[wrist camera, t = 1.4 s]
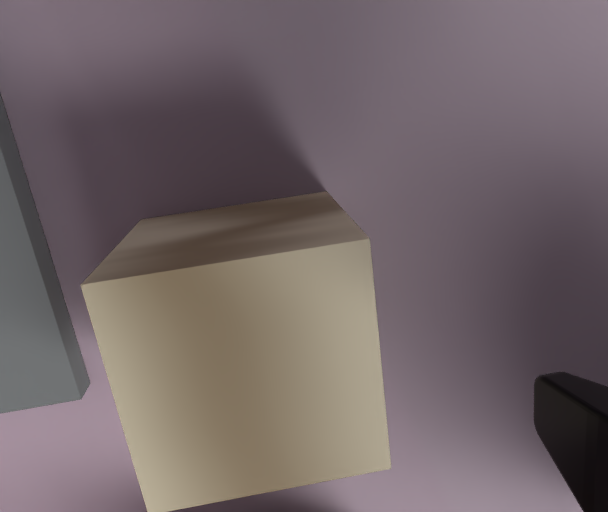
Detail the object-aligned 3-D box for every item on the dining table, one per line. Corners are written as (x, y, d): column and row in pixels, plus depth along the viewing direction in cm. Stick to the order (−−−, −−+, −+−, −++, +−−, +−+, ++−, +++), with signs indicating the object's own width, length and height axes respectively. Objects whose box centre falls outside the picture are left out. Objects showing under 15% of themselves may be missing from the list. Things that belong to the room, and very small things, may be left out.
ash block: (325, 190, 13) (369, 238, 9) (345, 352, 15) (391, 468, 10) (141, 218, 13) (80, 285, 8) (180, 381, 14) (148, 515, 10)
